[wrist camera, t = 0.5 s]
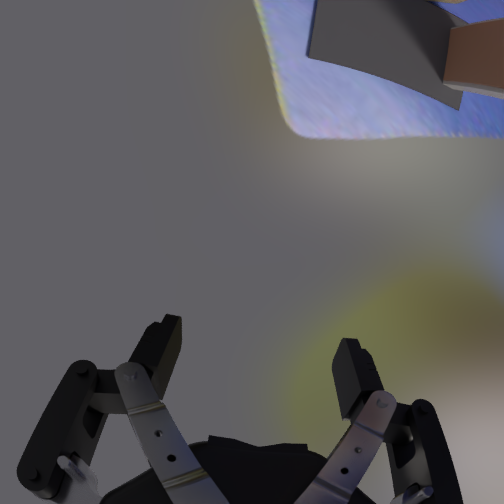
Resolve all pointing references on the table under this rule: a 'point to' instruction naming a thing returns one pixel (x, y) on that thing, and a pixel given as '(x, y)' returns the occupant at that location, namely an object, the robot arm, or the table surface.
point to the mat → (388, 42)
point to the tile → (476, 58)
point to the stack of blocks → (448, 1)
